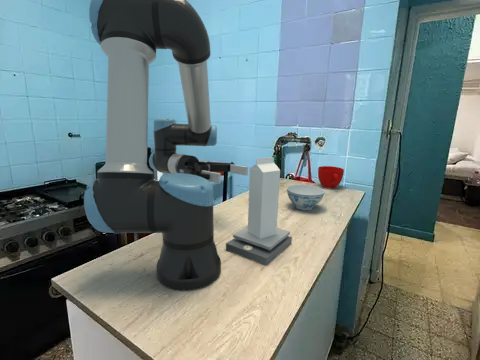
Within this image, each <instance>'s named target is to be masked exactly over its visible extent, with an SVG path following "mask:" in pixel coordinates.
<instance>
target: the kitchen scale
mask: <svg viewBox="0 0 480 360" xmlns="http://www.w3.org/2000/svg"><path fill="white" fill-rule="evenodd" d="M290 235H291V231H289V230H287V229H286V230H285V229H283V228H280V227H277V232H276V235H273V236H270V237H266V238H263V239H259V238H257V237H256V236H254V235H253V234H251V233H249V232H248V225H247V226H245V227H243V228H242V229H241V230H238V231H237V232H235V233H233V234H232V239H230V240H229V241H227V242H225V250H226V251H227V252H228V251H229V252H230V253H231V252H232V253H233V254H236V255H238V256H241V257H243V258H246V259H249V260H252V261H255V262H257V263H259V264H262V265H265V266H268V264H270V263H271V262H272V261H273V260H274V259H275V258H276V257H277V256H279V255H280V254H281V253H283V251H284V250H285V249H287V248H288V247H289V246H291V244H292V241H293V237H292V236H290Z"/></svg>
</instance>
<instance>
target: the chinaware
mask: <svg viewBox="0 0 480 360" xmlns="http://www.w3.org/2000/svg"><path fill="white" fill-rule="evenodd" d="M286 193H287V196H288V199H289V200H290V202H291V203H292V204H293V205H295V208H296V209H299V210H301V211H311V210H313V208H314V207H316V206H317V205H318V204H319V203H320V202H321V201H322V200H323V198H324V197H325V193H326V192H325V189H323V188H321V187H318V186H314V185H309V184H293V185H289V186H287V187H286Z"/></svg>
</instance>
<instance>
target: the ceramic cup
mask: <svg viewBox="0 0 480 360" xmlns="http://www.w3.org/2000/svg"><path fill="white" fill-rule="evenodd" d="M344 172H345V169H344V168H342V167H337V166H331V165H324V166H322V165H321V166H319V167H318V168H317V176H318V177H317V178H318V181H319V183H320V185H322V187H324V188H326V189H335V188H337V186H339V185H340V184H341V183H342V180H343V178H344Z"/></svg>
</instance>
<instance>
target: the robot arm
mask: <svg viewBox="0 0 480 360" xmlns="http://www.w3.org/2000/svg"><path fill="white" fill-rule="evenodd" d="M88 11H89V12H88V15H89V17H88V18H89V23H91V26H90V29H91V34H92V36H93V38H94V40H95V41H96V42H97V43H98V45H100V49H101V51H102V52H103V53H104V54H105V56H106V57H107V89H106V90H107V91H106V93H107V94H106V97H107V98H106V135H105V164H104V165H103V166H102V167H100V168H99V169H98V170H97V172H96V173H97V175H96V176H97V177H96V179H94V180H92V181H90V182H88V183H87V186H86V189H85V191H84V194H83V207H84V211H85V215H86V218H87V220H88V222H89V224H91V226H92V227H93V228H94V229H95V230H96V231H98V232H101V233H113V234H117V235H118V234H123V233H125V234H126V233H127V234H129V233H130V234H132V233H134V234H157V233H158V234H162V246H161V251H160V255H159V259H158V260H157V263H156V265H155V266H156V268H155V269H156V271H155V272H156V279H157V281H158V282H159V283H160V284H161V285H162V286H163V287H166V288H167V289H171V290H175V291H194V290H198V289H202V288H205V287H207V286H209V285H211V284H212V283H214V282H216V280H217V279H218V278H219V277H220V275H221V271H222V262H221V261H222V260H221V257H220V255H219V254H218V249H217V246H216V244H215V240H214V237H215V236H214V232H215V231H214V226H215V225H214V205H215V199H214V186H213V185H212V183H214V184H221V178H222V177H221V175H222V174H221V173H230V174H237V175H241V176H249V166H245V165H244V166H243V165H237V164H235V163H234V162H233V161H230V162H215V161H206V162H205V161H200V160H199V159H198V157H196V156H194V155H188V154H185V153H184V154H183V153H177V146H190V147H191V146H192V147H214V146H217V144H218V127H217V125H216V124H212V123H211V121H212V120H211V105H210V104H211V103H210V90H209V89H210V88H209V87H210V86H209V74H208V73H209V71H208V60H209V59H210V57H211V42H210V37H209V34H208V33H209V32H208V31H207V28H206V26H205V24H204V21H203V20H202V18H201V16H200V15H199V14H198V12H197V11H196V9H195V8H194V6H192V4H191V3H190V2H189V1H188V0H90V2H89V8H88ZM157 50H171V54H172V57H173V59H174V60H175V61H176V62H177V64H178V65H177V66H178V71H179V76H180V82H181V89H182V93H183V94H182V95H183V102H184V106H185V113H186V119H187V123H177V122H176V119H175V118H172V117H171V118H170V117H169V118H168V117H167V118H166V117H158V118H157V117H156V118H155V119H153V131H152V133H153V141H154V142H153V143H154V151H152V153H151V154H150V155H149V158H148V133H149V132H148V130H149V129H148V125H149V124H148V123H149V85H150V84H149V82H150V80H149V79H150V78H149V77H150V71H149V70H150V65H151V64H152V63H153V62H155V60H156V58H157ZM148 163H149V166H148ZM149 167H150V168H149ZM151 169H152V170H154V171H156V172H159V173H163V174H162V175H161V176H160V177H159V179H158V180H154V177H155V176H154V171H152V170H151Z"/></svg>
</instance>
